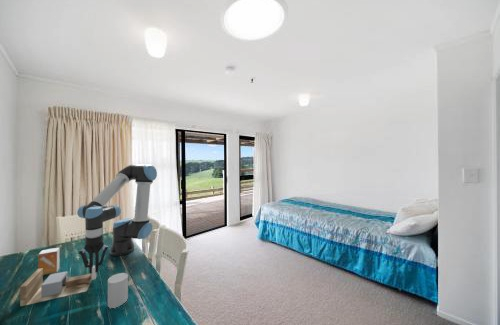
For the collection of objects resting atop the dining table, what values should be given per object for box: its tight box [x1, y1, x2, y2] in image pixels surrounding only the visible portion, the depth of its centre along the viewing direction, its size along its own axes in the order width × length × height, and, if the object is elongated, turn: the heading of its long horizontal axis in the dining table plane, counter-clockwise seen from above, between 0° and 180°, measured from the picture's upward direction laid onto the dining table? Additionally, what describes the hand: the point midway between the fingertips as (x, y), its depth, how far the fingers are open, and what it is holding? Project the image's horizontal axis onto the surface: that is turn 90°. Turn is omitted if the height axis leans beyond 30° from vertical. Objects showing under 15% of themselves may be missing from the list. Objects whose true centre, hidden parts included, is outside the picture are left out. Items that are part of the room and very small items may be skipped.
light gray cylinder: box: [107, 272, 129, 309], centre depth 96 cm, size 8×8×12 cm
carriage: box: [41, 271, 69, 297], centre depth 102 cm, size 7×10×6 cm
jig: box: [19, 268, 91, 307], centre depth 103 cm, size 24×16×10 cm, turn 117°
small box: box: [37, 247, 61, 276], centre depth 120 cm, size 8×6×13 cm
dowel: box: [65, 273, 93, 288], centre depth 107 cm, size 10×4×4 cm, turn 117°
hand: (94, 278), depth 109 cm, fingers closed
